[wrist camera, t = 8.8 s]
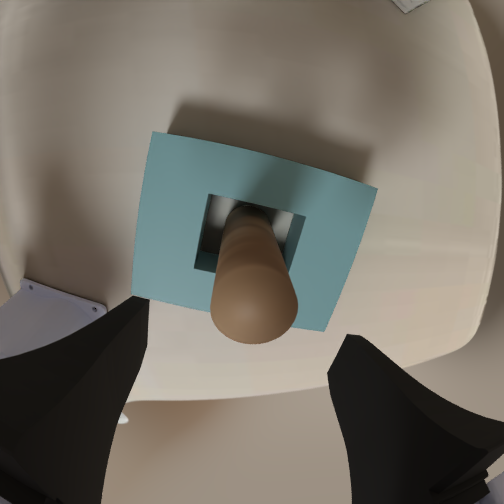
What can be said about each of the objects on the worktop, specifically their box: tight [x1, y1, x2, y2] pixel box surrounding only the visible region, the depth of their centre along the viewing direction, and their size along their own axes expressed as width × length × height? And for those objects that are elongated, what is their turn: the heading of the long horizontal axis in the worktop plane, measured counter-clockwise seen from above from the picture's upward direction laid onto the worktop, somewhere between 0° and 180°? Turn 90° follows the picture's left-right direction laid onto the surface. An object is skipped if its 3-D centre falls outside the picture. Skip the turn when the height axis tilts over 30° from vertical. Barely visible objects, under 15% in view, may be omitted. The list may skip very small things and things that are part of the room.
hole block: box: [131, 132, 378, 332], centre depth 18 cm, size 13×10×3 cm
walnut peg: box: [210, 206, 298, 344], centre depth 14 cm, size 3×3×10 cm
